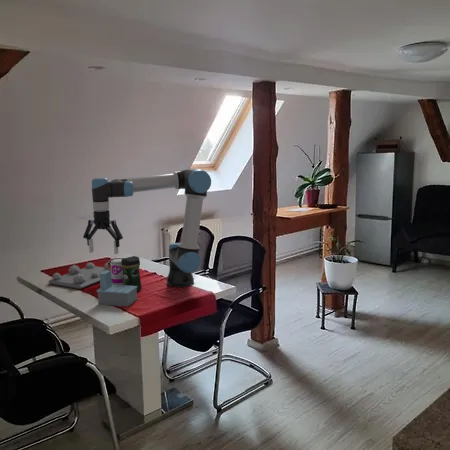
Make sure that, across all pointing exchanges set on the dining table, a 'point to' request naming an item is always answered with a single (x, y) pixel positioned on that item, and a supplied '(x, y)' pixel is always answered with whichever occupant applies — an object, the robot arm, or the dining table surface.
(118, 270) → the supplement can
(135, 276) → the coffee jar
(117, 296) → the tub
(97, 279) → the decorative tray
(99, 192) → the robot arm
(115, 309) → the dining table surface
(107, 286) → the pale blue stepped block
